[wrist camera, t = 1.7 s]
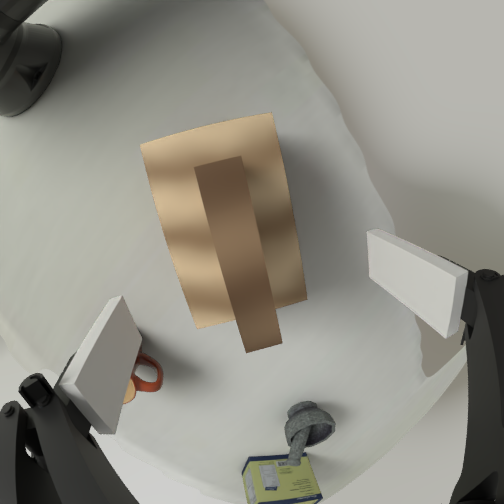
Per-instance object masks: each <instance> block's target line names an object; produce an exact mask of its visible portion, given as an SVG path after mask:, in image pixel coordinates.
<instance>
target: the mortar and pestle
mask: <svg viewBox="0 0 504 504" xmlns="http://www.w3.org/2000/svg"><path fill="white" fill-rule="evenodd" d="M287 413H288V418H289V420H288V421H287V422H286V425H285V435H286V439H287V443H288V446H290V447H291V448H290V453H289V458H288V459H287V460H286V464H287V465H290V466H300V465H301V461H300V460H301V457H302V454H303V451H304V448H306V447H312V446H314V445H317V444H319V443H321V442H323V441H325V440H327V439H328V438H329V437H330V436H331V435H332V434H333V433H334V432H335V422H334V420H333V418H332V417H331V416H330V414H328V413H327V412H325V411H323V410H321V409H319V408H317V406H316V404H315V403H313V402H311V401H306V402H300V403H298V404H296V405H294V406H292V407H291V408H290V410H289V411H288V412H287Z"/></svg>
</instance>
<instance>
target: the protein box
mask: <svg viewBox="0 0 504 504" xmlns="http://www.w3.org/2000/svg"><path fill="white" fill-rule="evenodd" d="M288 458H289V454H287V455H275V456H258V457H249V458H248V460H247V462H246V464H245V467H244V469H243V471H242V477H243V482H244V488H245V493H246V498H247V503H248V504H317V503H318V502H319V501H320V500H321V499H323V497H322V494H321V492H320V489H319V486H318V484H317V481H316V478H315V476H314V473H313V470H312V468H311V465H310V462H309V460H308V457H307V454H306V452H305V453H303V454H302V457H301V460H300V461H301V465H300V466H290V465H287V464H286V460H287V459H288Z"/></svg>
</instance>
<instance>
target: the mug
mask: <svg viewBox="0 0 504 504" xmlns="http://www.w3.org/2000/svg"><path fill="white" fill-rule="evenodd" d="M141 351H142V344H141V345H140V348H139V351H138V354H137V357H136V360H135V364H134V367H133V370H132V373H131V377H130V380H129V384H128V387H127V391H126V394H125V398H124V402H123V404H126V403H128V402H130V401H132V400H133V399H134V398H135V395H136V391H145V392H156V391H158V390H160V389H161V387H162V385H163V377H164V376H163V370H162V367H161V366H160V364H159V363H158V362H157V361H156V360H155V359H153V358H152V357H150V356H148V355H147V354H145V353H142V352H141ZM139 365H146V366H149V367H151V368H153V369H154V370H155V372H156V374H157V380H156V381H155V382H146V381H143V380H142V379H140V378H139V377H138V376H136V375H135V372H136V369H137V367H138V366H139Z"/></svg>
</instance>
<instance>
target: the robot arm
mask: <svg viewBox="0 0 504 504" xmlns="http://www.w3.org/2000/svg"><path fill="white" fill-rule="evenodd" d="M47 1H48V0H0V116H15V115H17V114H20V113H21V112H23V111H25V110H26V109H27V108H29V107H30V106H31V105H32V104H33V103H34V102H35V101H36V100H37V99H38V98H39V97H40V96H41V94H42V93H43V92H44V90H45V89H46V87H47V86H48V84H49V83H50V81H51V79H52V77H53V76H54V73H55V71H56V69H57V66H58V64H59V60H60V56H61V50H62V43H61V39H60V36H59V34H58V33H57V32H56V31H55V30H53V29H52V28H51V27H49V26H47V25H44V24H30V23H24V21H25V20H26V19H27V18H28V17H29V16H30V15H32V14H33V13H34V12H35V11H36V10H37V9H38V8H39V7H41V6H42V5H43V4H44V3H45V2H47ZM366 233H367V246H368V261H369V278H371V279H372V280H373V281H375V282H376V283H377V284H378V285H380V286H381V287H382V288H384V289H385V290H386V291H388V292H389V293H390V294H391V295H393V296H394V297H395V298H396V299H398V300H399V301H400V302H402V303H403V304H404V305H405V306H407V307H408V308H409V309H410V310H412V311H413V312H414V313H415V314H417V315H418V316H419V317H420V318H422V319H423V320H424V321H425V322H426V323H428V324H429V325H430V326H431V327H432V328H434V329H435V330H436V331H437V332H439V333H440V334H441V335H442V336H443V337H444V338H445V339H446V338H448V337H450V336H451V335H453V334H454V333H456V332H458V328H459V324H460V319H462V320H463V321H464V322H466V324H465V329H464V333H463V336H462V340H461V345H463V342H464V341H466V351H467V364H468V398H469V400H468V402H469V403H468V425H467V438H466V448H465V455H464V463H463V469H462V473H461V476H460V478H459V480H458V482H457V484H456V486H455V488H454V491H453V493H452V496H451V500H450V503H449V504H504V275H502V276H501V275H500V274H499V273H497V272H496V271H493V270H489V269H482V270H479V271H477V272H476V273H474V272H472V271H470V270H468V269H466V268H464V267H462V266H460V265H459V264H455V263H454V262H453V261H449V260H448V259H446V258H444V257H442V256H439V255H435V254H433V253H431V252H429V251H427V250H425V249H423V248H420V247H419V246H416V245H414V244H412V243H410V242H407V241H406V240H403V239H401V238H399V237H397V236H394V235H392V234H390V233H388V232H385V231H383V230H381V229H378V228H377V229H373V230H370V231H366ZM141 341H142V337H141V335H140V333H139V331H138V329H137V327H136V325H135V322H134V320H133V318H132V316H131V314H130V312H129V309H128V307H127V305H126V303H125V300H124V298H123V296H118V297H114V298H110V300H109V301H108V303H107V304H106V306H105V307H104V309H103V310H102V312H101V313H100V315H99V316H98V318H97V320H96V321H95V323H94V324H93V326H92V327H91V329H90V331H89V332H88V334H87V336H86V337H85V339H84V341H83V342H82V344H81V346H80V347H79V349H78V351H77V352H76V353H75V354H74V355H73V356H72V357H71V358H70V359H69V361H68V363H67V366H65V368H64V370H63V372H62V374H61V375H60V377H59V379H58V381H57V383H56V384H55V386H54V389H52V387H51V386H50V385H49V383H48V382H47V380H46V379H45V377H44V376H43V375H42V374H40V373H35V374H32V375H30V376H29V377H27V378H26V379H25V380H24V381H23V382H22V383H21V385H20V387H19V393H20V394H21V396H22V397H23V398H24V399H25V401H26V402H27V403H28V404H29V406H30V407H31V408H27V409H23V408H22V407H21V405H20V404H19V403H18V402H17V401H10V402H9V403H6V404H5V405H4V406H3V408H2V409H1V411H0V504H139V503H138V501H137V500H136V499H135V498H134V496H133V495H132V494H131V492H130V491H129V490H128V488H127V487H126V486H125V484H124V483H123V482H122V481H121V479H120V477H119V476H118V475H117V474H116V472H115V470H114V469H113V467H112V466H111V464H110V463H109V461H108V460H107V458H106V456H105V455H104V453H103V452H102V450H101V448H100V447H99V445H98V443H97V442H96V440H95V438H94V437H93V436H92V435H91V434H90V433H89V430H90V427H91V425H92V426H93V427H94V429H95V430H96V431H97V432H98V433H99V434H115V433H116V429H117V425H118V421H119V417H120V413H121V409H122V405H123V402H124V398H125V394H126V391H127V387H128V384H129V380H130V377H131V373H132V370H133V367H134V364H135V360H136V357H137V354H138V351H139V348H140V345H141ZM25 447H26V448H27V449H28V450H29V451H30V452H31V457H30V456H29V455H28V454H27V452H26V448H25Z"/></svg>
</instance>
